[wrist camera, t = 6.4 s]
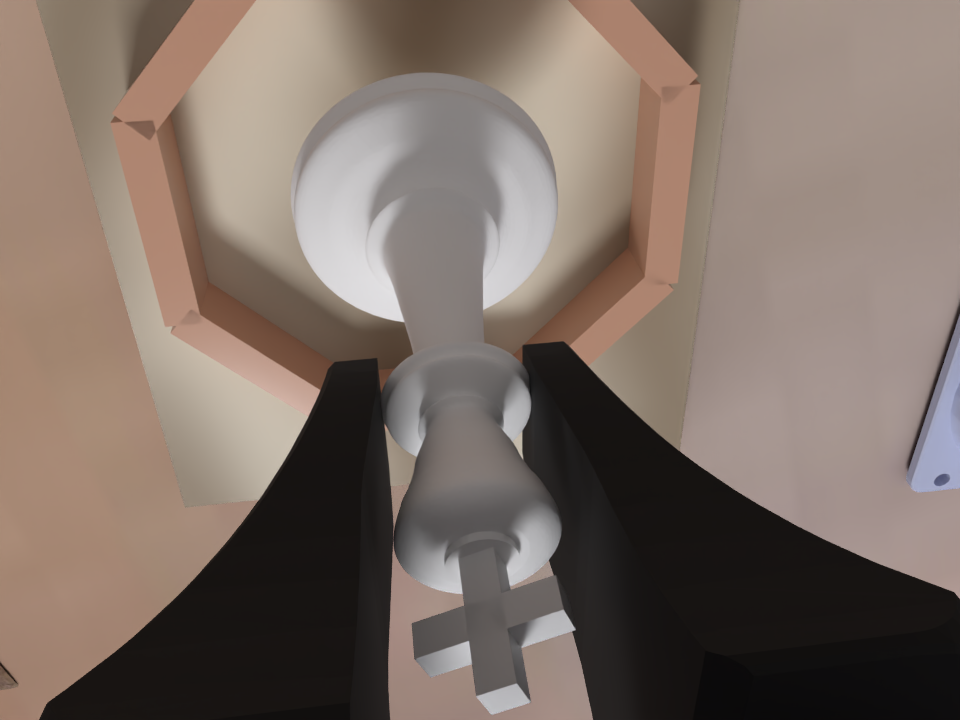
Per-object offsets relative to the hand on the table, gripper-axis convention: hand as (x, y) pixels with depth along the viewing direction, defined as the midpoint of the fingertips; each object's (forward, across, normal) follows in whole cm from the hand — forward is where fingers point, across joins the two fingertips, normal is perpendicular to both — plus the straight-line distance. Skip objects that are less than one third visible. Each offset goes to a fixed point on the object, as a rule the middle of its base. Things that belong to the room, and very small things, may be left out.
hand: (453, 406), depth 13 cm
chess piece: (+5, 0, -1) cm, 5 cm away
